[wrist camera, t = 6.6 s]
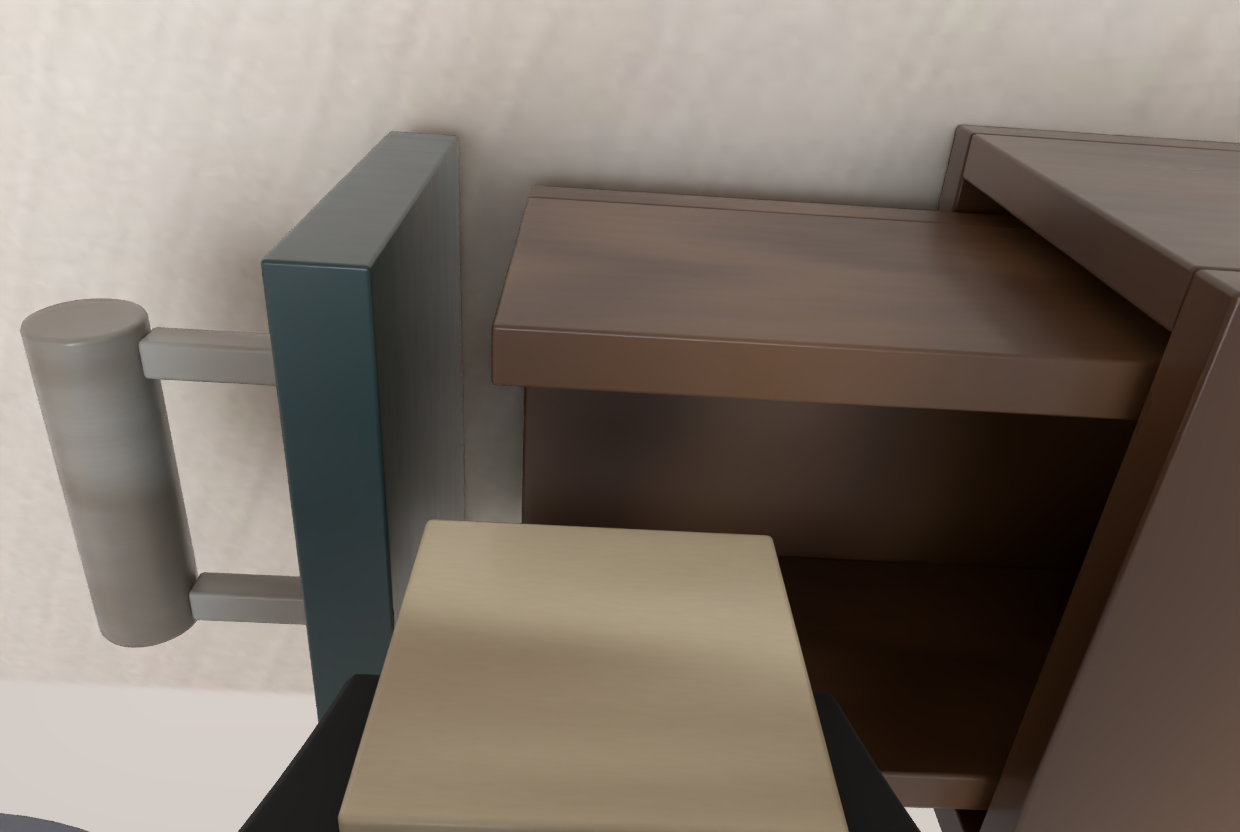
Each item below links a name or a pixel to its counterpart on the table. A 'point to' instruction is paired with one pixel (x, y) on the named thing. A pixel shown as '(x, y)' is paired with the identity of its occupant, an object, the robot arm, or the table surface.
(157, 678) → the table surface
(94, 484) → the drawer
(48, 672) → the table surface
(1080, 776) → the cabinet
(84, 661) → the table surface
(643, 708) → the block
